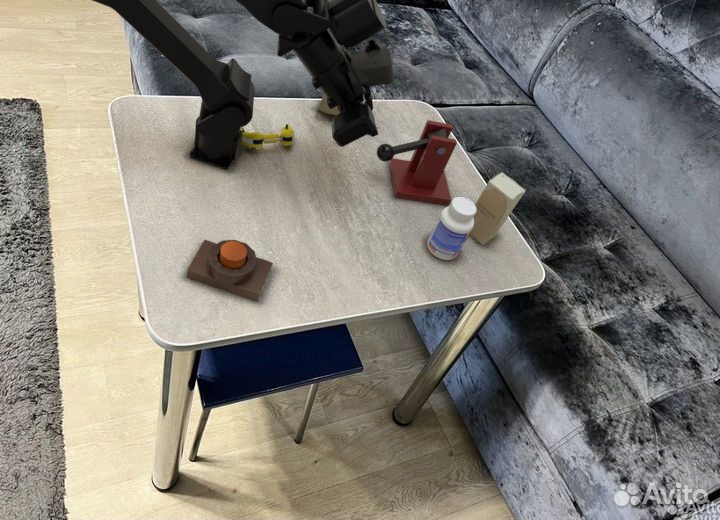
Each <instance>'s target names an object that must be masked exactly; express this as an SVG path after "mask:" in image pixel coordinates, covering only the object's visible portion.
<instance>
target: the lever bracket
mask: <svg viewBox="0 0 720 520" xmlns="http://www.w3.org/2000/svg"><path fill="white" fill-rule="evenodd" d="M453 128H454V127H453V124H450V123H445V122H440V121H435V120H429V119H427V120H426V122H425V125H424V127H423V130H422V132H421V134H420V137H419V139H418V140H422V139H427V138H429V135H428V132H433V131H437V130H441V129H445V132H446V136H447V138H445V137H439V136H433V135H431V137H430V139H429V141H428V144H427V146H426V147H425V148H421V149H417V150H413V154H412V156H411V158H410V160H407V159H401V158H394V157H393V158H392V159H391V160H390V161H389V163H388V165H389V170H390V177H391V182H392V183H391V184H392V189H393V195H394V198H395V199H401V200H402V199H403V200H407V201H408V200H409V201H415V202H422V203H428V204H429V203H430V204H434V205H435V204H436V205H443V206H450V204H451V202H452V197H451V193H450V189H449V185H448V182H447V181H448V180H447V178H446V174H445V169H446V167H447V165H448V163H449V161H450V158H451V157H452V155H453V153H454V150H455V148H456V147H457V144H458V142H457V139H455V138H450V135H451V133H452V131H453Z"/></svg>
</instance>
